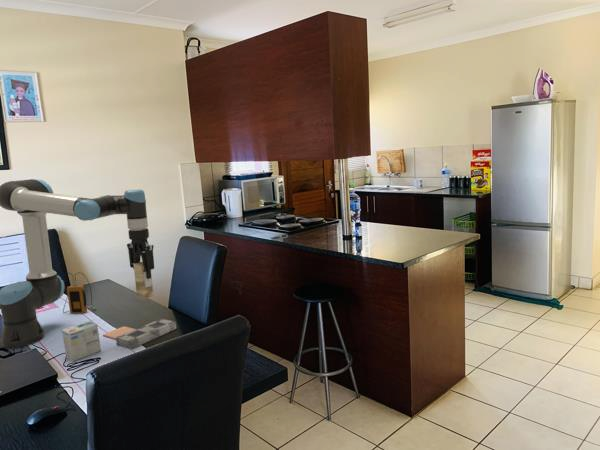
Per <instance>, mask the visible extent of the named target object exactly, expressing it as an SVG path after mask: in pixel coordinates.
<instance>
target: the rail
mask: <svg viewBox="0 0 600 450" xmlns="http://www.w3.org/2000/svg"><path fill="white" fill-rule="evenodd" d="M134 329H135V330H133V331H130V332H128V333H125V334H123V335H121V336H118V337H116V340H115V341H116V345H117V346H120V347H123V348H127V349H131V350H132V349H135V348H137V347H140V346H142V345H143V344H146V343H149V342H150V341H153V340H155V339H157V338H160V337H161V336H163V335H165V334H168V333H171V332H173V331H175V330H176V329H177V322H176V321H173V320H169V319H164V318H159V319H157V320H155V321H152V322H150V323H147V324H145V325H143V326H141V327H137V328H134Z"/></svg>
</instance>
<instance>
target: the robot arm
mask: <svg viewBox="0 0 600 450" xmlns="http://www.w3.org/2000/svg"><path fill="white" fill-rule="evenodd" d="M146 203H147V200H146V194H145V191H144V190H143V189H127V190H125V191H124V194H123V195H122V194H121V195H110V194H107V195H101V196H98V197H94V198H89V197H88V198H87V197H82V196H81V197H80V196H75V195H74V196H72V195H66V194H58V193H54V190H53V189H52V187H51V185H50V184H49V183H48V182H47V181H44V180H42V179H37V178H36V179H34V178H31V179H23V180H21V179H20V180H11V181H7V182H4V183H2V184H1V185H0V207H1V208H2V209H4V210H8V211H14V212H16V213H17V214H18V215H19V216H21V218H22V225H23V232H24V241H25V249H26V254H27V255H26V256H27V265H28V270H29V272H28V274H26V275H25V280H23V281H16V282H13V283H10V284H8V285H7V284H6V285H5V286H4V287H2V288H0V311H1V312H0V313H1V318H2V323H3V328H2V333H1V338H0V344H1V345H0V346H1V347H2V348H5V349H16V348H22V347H27V346H30V345H32V344H35V343H37V342H39V341H41V340H43V339H44V338H45V331H44V329H43V327H42V325H41V324H40V322H39V320H38V318H37V317H38V316H37V310H38V309H42V308H43V307H45V306H48V305H51V304H54V303H55V302H56V301H59V300H60V299H61V298H62V297H63V295H64V292H65V289H66V286H65V281H64V280H63V279H62V277H61V276H60V275H58V273H57V271H55V269H53V265H52V256H51V247H50V240H49V231H48V225H47V224H48V222H47V214H53V215H61V216H68V217H74V218H75V217H76V218H78V219H79V220H81V221H83V222H84V221H85V222H87V221H94V220H95V219H101V218H105V217H110V216H113V215H126V220H127V221H126V222H127V229H128V238H129V241H130V240H131V242H130V243H127V244H126V248H127V251H128V258H129V259H128V261H129V267H130V268H132V269H133V270H134V264H135V263H139V262H142V261H143V265H144V269H145V270H143V273H144V283H145V287H149V286H152V287H153V284H152V285H151V276H152V270H155V260H154V259H155V258H154V248H155V247H154V244H150V243H149V241H148V239H149V238H150V232H149V228H148V227H149V224H148V223H149V222H148V215H147V214H148V213H147V204H146Z"/></svg>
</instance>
